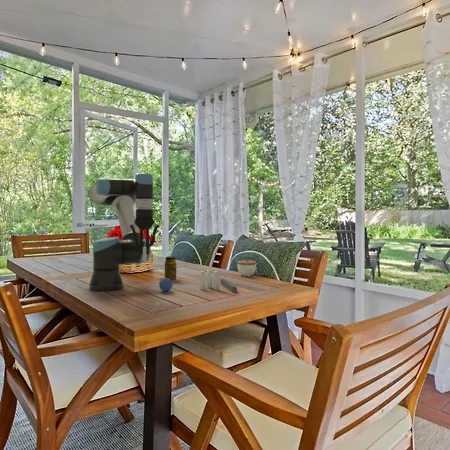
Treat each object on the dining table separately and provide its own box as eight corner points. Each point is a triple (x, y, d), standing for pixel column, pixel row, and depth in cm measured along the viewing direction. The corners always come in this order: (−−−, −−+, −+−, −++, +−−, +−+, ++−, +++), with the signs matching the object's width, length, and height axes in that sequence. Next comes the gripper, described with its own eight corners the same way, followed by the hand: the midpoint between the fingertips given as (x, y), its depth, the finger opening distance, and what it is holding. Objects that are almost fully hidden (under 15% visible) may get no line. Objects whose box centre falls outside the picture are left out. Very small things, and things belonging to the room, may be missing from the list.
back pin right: (214, 290, 172) (214, 272, 172) (213, 289, 175) (213, 271, 174) (219, 290, 173) (219, 271, 173) (218, 289, 175) (218, 271, 175)
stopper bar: (232, 292, 168) (232, 287, 168) (220, 283, 187) (220, 278, 187) (236, 292, 169) (236, 287, 169) (224, 283, 188) (224, 278, 188)
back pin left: (207, 288, 177) (207, 270, 176) (206, 287, 179) (206, 269, 179) (212, 288, 177) (212, 270, 177) (211, 287, 180) (211, 269, 179)
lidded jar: (240, 277, 205) (240, 260, 204) (234, 273, 215) (234, 257, 215) (258, 276, 208) (259, 259, 207) (252, 273, 218) (252, 257, 217)
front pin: (200, 290, 173) (200, 271, 173) (199, 288, 175) (199, 270, 175) (205, 289, 174) (205, 271, 173) (204, 288, 176) (204, 270, 176)
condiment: (179, 280, 196) (179, 257, 196) (164, 281, 192) (164, 258, 191) (173, 277, 203) (173, 255, 202) (158, 279, 198) (158, 256, 197)
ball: (159, 293, 166) (159, 279, 166) (158, 290, 172) (158, 277, 172) (173, 292, 168) (173, 279, 168) (171, 289, 174) (171, 276, 173)
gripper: (129, 208, 160) (129, 263, 161) (160, 208, 164) (160, 262, 165) (128, 208, 167) (129, 261, 168) (158, 208, 171) (158, 260, 172)
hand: (144, 261), depth 166 cm, fingers closed
